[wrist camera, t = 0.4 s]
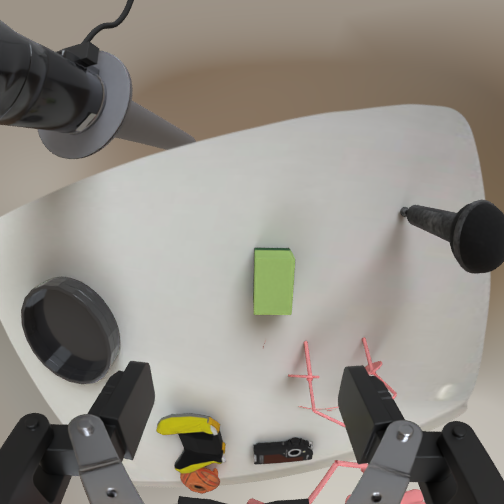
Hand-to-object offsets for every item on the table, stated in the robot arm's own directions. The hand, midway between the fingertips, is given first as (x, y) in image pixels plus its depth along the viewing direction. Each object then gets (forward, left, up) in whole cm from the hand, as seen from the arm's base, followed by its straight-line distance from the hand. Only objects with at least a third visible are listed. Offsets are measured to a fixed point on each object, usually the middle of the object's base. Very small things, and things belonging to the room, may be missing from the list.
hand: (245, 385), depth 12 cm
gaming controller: (+36, -9, -29) cm, 47 cm away
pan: (+15, -28, -29) cm, 43 cm away
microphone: (-4, +21, -29) cm, 36 cm away
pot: (+48, -9, -29) cm, 56 cm away
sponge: (+5, +3, -29) cm, 29 cm away
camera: (+40, +7, -29) cm, 50 cm away
